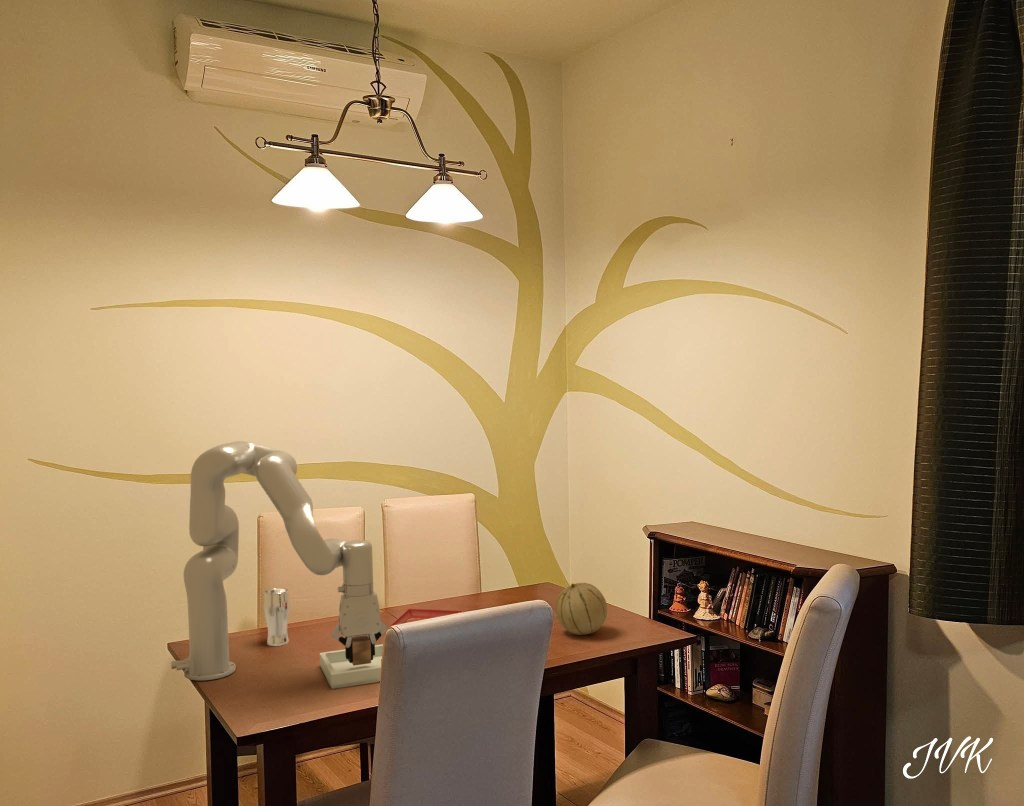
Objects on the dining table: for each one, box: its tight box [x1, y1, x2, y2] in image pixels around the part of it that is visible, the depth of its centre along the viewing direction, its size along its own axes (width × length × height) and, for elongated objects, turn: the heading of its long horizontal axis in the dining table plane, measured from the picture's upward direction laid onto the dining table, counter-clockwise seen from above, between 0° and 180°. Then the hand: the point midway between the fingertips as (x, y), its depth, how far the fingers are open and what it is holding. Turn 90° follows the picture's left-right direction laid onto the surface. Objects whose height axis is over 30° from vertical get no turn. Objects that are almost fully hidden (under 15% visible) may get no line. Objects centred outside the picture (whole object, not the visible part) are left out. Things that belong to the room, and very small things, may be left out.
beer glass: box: [263, 587, 290, 647], centre depth 251 cm, size 7×7×15 cm
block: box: [351, 635, 371, 666], centre depth 225 cm, size 4×4×6 cm
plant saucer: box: [388, 608, 465, 628], centre depth 263 cm, size 18×18×3 cm
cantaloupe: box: [555, 582, 608, 636], centre depth 253 cm, size 15×15×15 cm
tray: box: [319, 643, 384, 690], centre depth 225 cm, size 18×18×4 cm
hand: (360, 659), depth 225 cm, fingers closed on block, 4 cm apart
